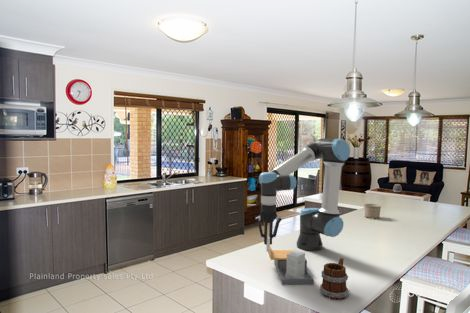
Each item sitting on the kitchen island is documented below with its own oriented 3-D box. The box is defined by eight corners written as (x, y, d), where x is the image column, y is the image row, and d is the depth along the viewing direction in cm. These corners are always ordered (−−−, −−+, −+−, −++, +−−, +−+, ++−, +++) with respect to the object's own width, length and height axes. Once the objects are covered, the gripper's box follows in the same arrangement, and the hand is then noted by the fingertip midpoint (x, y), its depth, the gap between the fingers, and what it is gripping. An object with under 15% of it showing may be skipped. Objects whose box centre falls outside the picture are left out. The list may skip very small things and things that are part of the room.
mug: (313, 295, 138) (317, 258, 139) (326, 289, 149) (329, 255, 150) (341, 304, 131) (345, 265, 132) (352, 296, 142) (355, 261, 143)
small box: (294, 271, 160) (294, 249, 159) (304, 274, 156) (305, 252, 156) (285, 276, 153) (286, 254, 153) (296, 280, 150) (297, 257, 149)
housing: (301, 263, 173) (301, 252, 173) (313, 284, 148) (314, 271, 148) (274, 263, 173) (274, 252, 172) (282, 284, 148) (282, 271, 147)
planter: (368, 215, 283) (369, 203, 283) (383, 218, 274) (383, 205, 273) (360, 217, 275) (361, 204, 275) (375, 220, 266) (376, 207, 265)
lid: (294, 251, 172) (294, 245, 172) (299, 259, 161) (299, 253, 161) (267, 251, 172) (267, 245, 172) (270, 259, 161) (270, 253, 160)
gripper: (280, 202, 169) (279, 248, 170) (254, 202, 168) (254, 248, 170) (283, 205, 161) (282, 253, 163) (256, 205, 161) (255, 253, 162)
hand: (267, 250), depth 166 cm, fingers closed
